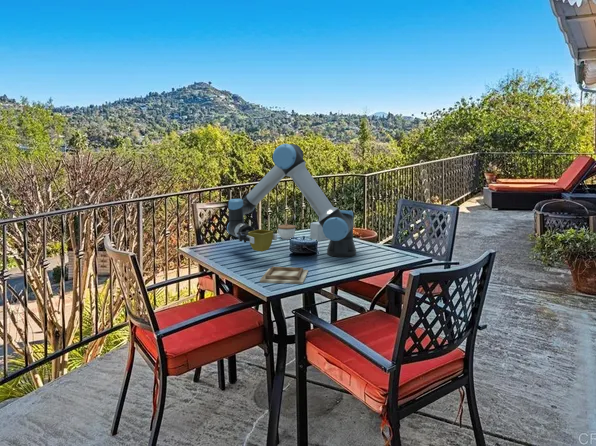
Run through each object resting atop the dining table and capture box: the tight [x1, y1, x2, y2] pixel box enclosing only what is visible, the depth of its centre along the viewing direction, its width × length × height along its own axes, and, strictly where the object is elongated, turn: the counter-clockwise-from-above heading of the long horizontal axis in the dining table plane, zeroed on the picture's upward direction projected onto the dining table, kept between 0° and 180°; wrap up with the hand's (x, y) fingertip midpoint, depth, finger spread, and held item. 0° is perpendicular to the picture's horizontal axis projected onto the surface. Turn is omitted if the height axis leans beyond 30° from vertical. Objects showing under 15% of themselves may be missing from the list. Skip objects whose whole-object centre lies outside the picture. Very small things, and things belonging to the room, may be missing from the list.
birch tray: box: [259, 266, 309, 285], centre depth 192 cm, size 18×18×2 cm
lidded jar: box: [277, 222, 296, 241], centre depth 272 cm, size 11×11×9 cm
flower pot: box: [248, 229, 274, 253], centre depth 209 cm, size 9×9×9 cm
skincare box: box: [309, 221, 329, 242], centre depth 269 cm, size 10×6×10 cm, turn 137°
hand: (265, 239), depth 206 cm, fingers closed on flower pot, 11 cm apart
